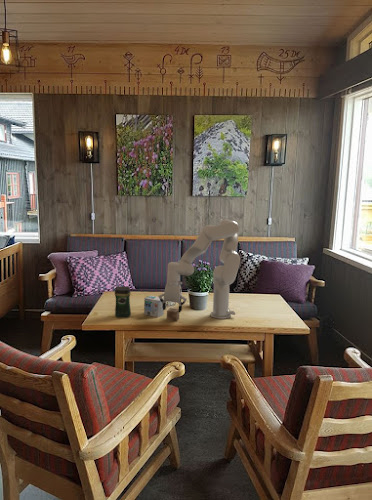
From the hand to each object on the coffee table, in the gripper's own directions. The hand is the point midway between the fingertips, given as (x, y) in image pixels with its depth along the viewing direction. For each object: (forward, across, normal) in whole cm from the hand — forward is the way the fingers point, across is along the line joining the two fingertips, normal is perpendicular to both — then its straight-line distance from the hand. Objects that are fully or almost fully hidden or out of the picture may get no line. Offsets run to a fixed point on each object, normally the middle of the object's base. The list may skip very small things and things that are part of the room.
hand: (172, 310), depth 243 cm
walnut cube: (+6, -1, 0) cm, 6 cm away
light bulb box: (+6, +13, -6) cm, 16 cm away
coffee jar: (+6, +30, +4) cm, 31 cm away
